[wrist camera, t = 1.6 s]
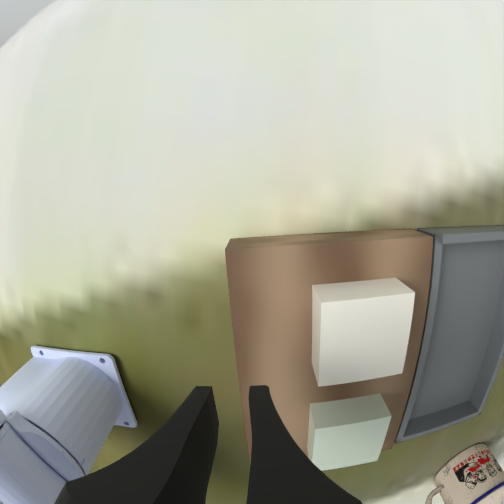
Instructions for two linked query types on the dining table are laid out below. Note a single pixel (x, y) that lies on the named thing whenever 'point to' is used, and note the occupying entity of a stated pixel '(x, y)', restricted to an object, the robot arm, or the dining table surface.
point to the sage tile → (347, 431)
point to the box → (458, 330)
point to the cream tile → (360, 330)
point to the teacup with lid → (470, 478)
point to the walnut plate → (300, 315)
